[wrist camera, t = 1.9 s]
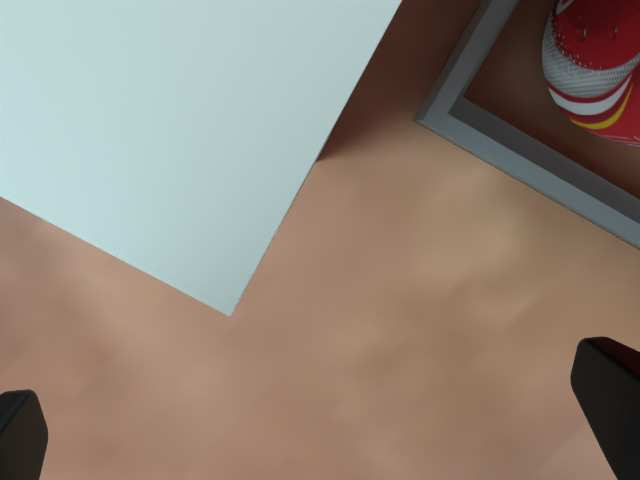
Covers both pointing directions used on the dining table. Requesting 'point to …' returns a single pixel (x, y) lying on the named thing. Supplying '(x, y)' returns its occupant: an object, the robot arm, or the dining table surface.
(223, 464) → the dining table surface
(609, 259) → the dining table surface
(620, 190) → the tray
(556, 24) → the soda can
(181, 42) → the white side table
